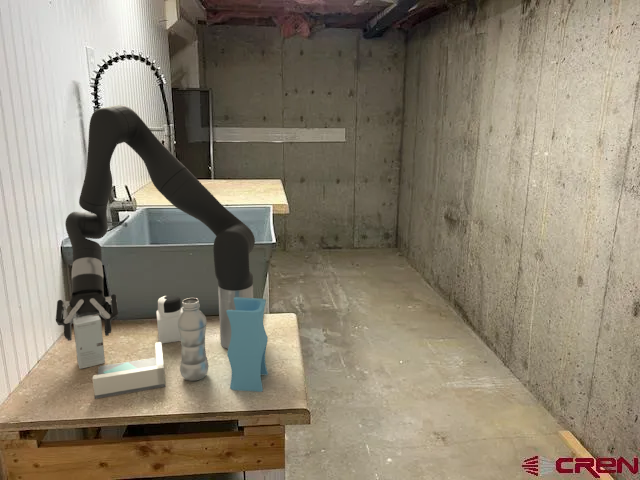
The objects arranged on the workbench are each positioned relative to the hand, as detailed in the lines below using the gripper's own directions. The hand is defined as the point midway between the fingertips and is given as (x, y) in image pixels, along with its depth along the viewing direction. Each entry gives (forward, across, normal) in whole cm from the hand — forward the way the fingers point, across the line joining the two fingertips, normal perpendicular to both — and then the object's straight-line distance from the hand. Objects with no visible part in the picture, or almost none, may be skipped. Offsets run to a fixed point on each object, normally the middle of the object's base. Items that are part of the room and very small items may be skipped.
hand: (88, 337), depth 119 cm
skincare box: (+5, 0, +5) cm, 7 cm away
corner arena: (+12, +10, -2) cm, 16 cm away
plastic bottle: (+16, +24, -5) cm, 29 cm away
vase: (+20, +36, -10) cm, 42 cm away
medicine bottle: (-1, +20, +11) cm, 23 cm away
